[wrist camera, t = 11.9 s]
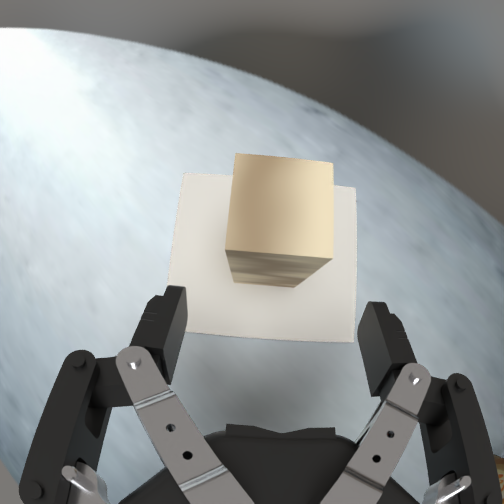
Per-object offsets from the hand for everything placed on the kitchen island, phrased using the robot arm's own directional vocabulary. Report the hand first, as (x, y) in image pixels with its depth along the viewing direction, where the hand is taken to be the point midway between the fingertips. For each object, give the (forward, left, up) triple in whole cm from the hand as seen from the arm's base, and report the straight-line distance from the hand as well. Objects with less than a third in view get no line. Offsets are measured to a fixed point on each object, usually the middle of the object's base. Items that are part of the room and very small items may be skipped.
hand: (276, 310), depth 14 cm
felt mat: (0, -5, -13) cm, 14 cm away
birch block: (0, -5, -12) cm, 13 cm away
